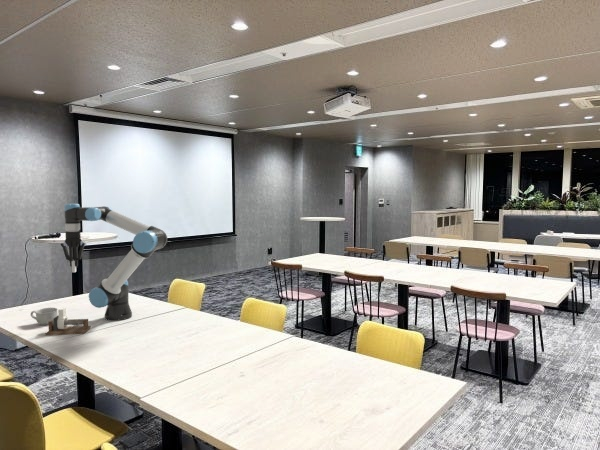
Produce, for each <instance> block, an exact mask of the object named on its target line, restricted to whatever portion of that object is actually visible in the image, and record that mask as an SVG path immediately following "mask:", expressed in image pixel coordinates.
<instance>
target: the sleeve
mask: <svg viewBox="0 0 600 450" xmlns="http://www.w3.org/2000/svg"><path fill="white" fill-rule="evenodd" d="M57 313H58V316H59V318H58V320H57V327H58V329H64V328H66V327H67V326H68V325H64V320H68V315H67V307H60V308H58V310H57Z"/></svg>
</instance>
